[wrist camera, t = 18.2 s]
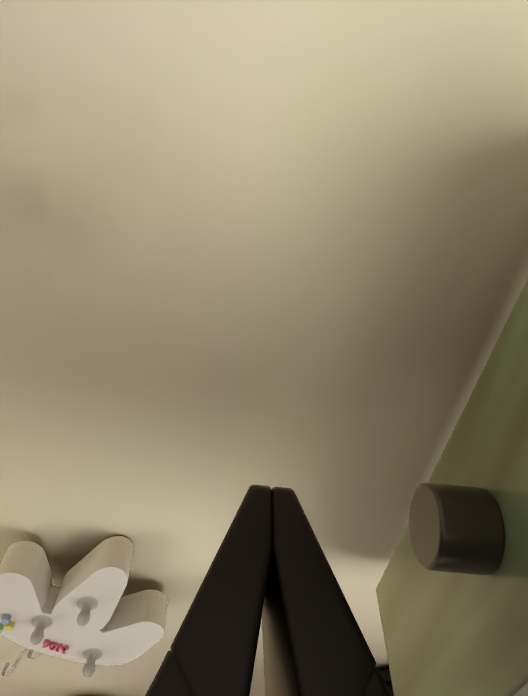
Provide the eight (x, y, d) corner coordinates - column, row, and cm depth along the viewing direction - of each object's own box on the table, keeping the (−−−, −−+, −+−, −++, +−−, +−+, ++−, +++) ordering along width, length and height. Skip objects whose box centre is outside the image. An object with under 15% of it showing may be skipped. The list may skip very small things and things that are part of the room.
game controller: (189, 547, 16) (175, 632, 13) (134, 681, 22) (118, 753, 20) (8, 510, 15) (-38, 596, 13) (6, 661, 21) (-25, 735, 19)
